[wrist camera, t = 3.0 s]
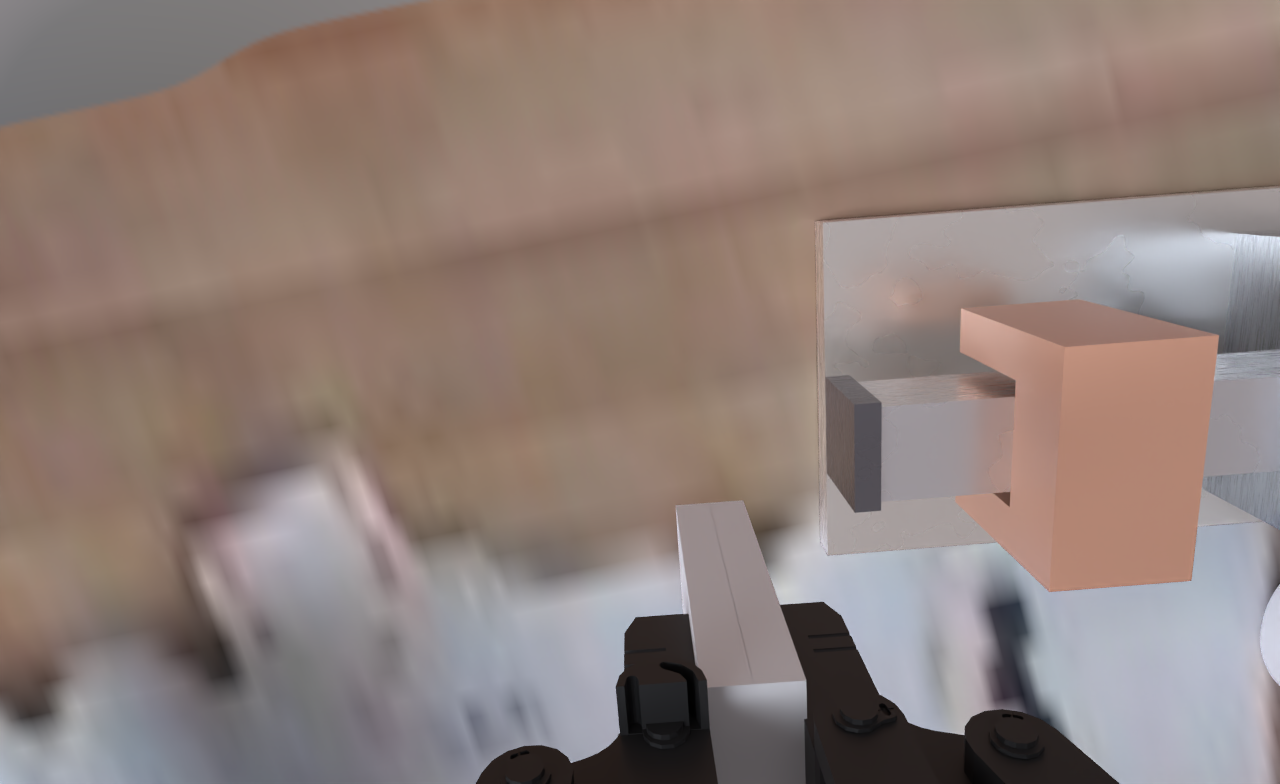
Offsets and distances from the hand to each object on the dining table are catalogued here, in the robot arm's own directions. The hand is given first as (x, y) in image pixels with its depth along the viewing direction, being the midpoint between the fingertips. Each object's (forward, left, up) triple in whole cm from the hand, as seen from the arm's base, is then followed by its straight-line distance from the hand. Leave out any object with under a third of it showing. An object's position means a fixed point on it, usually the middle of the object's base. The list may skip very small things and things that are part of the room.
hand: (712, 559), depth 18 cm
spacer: (+12, 0, -10) cm, 16 cm away
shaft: (+13, 0, -9) cm, 16 cm away
